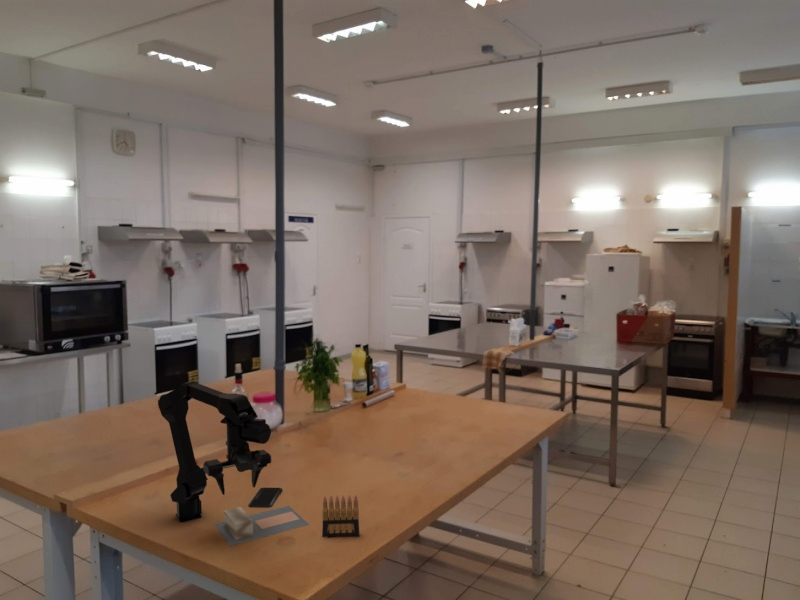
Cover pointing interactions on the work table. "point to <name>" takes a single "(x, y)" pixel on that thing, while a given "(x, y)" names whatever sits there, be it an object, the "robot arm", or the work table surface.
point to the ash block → (238, 523)
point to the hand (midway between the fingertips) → (238, 490)
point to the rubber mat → (266, 524)
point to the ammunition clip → (340, 518)
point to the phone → (265, 497)
